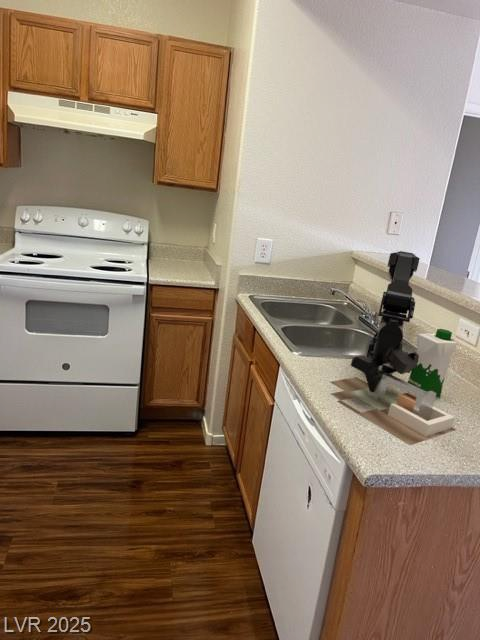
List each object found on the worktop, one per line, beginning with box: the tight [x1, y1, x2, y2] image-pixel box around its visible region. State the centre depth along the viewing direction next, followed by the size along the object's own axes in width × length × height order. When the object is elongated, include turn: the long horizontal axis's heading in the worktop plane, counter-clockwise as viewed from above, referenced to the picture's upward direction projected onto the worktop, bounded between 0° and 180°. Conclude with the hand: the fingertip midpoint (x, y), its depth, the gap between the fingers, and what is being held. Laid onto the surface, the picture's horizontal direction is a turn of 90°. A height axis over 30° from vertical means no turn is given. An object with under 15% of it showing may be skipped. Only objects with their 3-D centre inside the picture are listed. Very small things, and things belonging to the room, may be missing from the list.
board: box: [329, 376, 457, 446], centre depth 125 cm, size 19×32×2 cm, turn 35°
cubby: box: [388, 403, 456, 436], centre depth 119 cm, size 11×11×3 cm
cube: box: [397, 392, 417, 413], centre depth 121 cm, size 5×5×5 cm
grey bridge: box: [368, 369, 437, 421], centre depth 124 cm, size 6×16×8 cm, turn 36°
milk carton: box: [406, 328, 458, 399], centre depth 137 cm, size 9×9×20 cm
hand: (375, 390), depth 130 cm, fingers closed on grey bridge, 3 cm apart
